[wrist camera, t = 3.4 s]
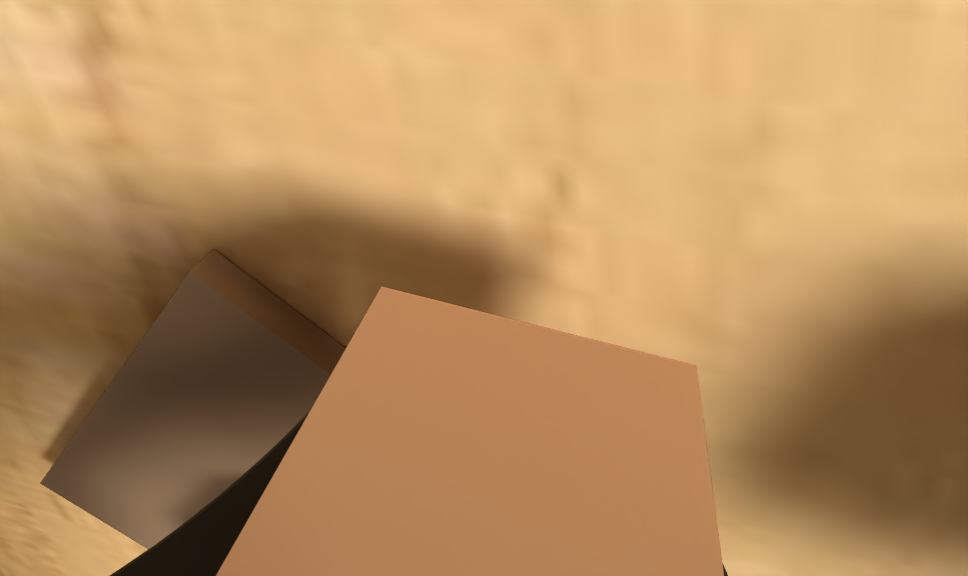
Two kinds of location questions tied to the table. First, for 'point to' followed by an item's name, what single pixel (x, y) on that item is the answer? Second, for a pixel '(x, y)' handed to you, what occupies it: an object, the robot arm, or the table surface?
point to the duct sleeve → (489, 458)
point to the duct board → (195, 404)
